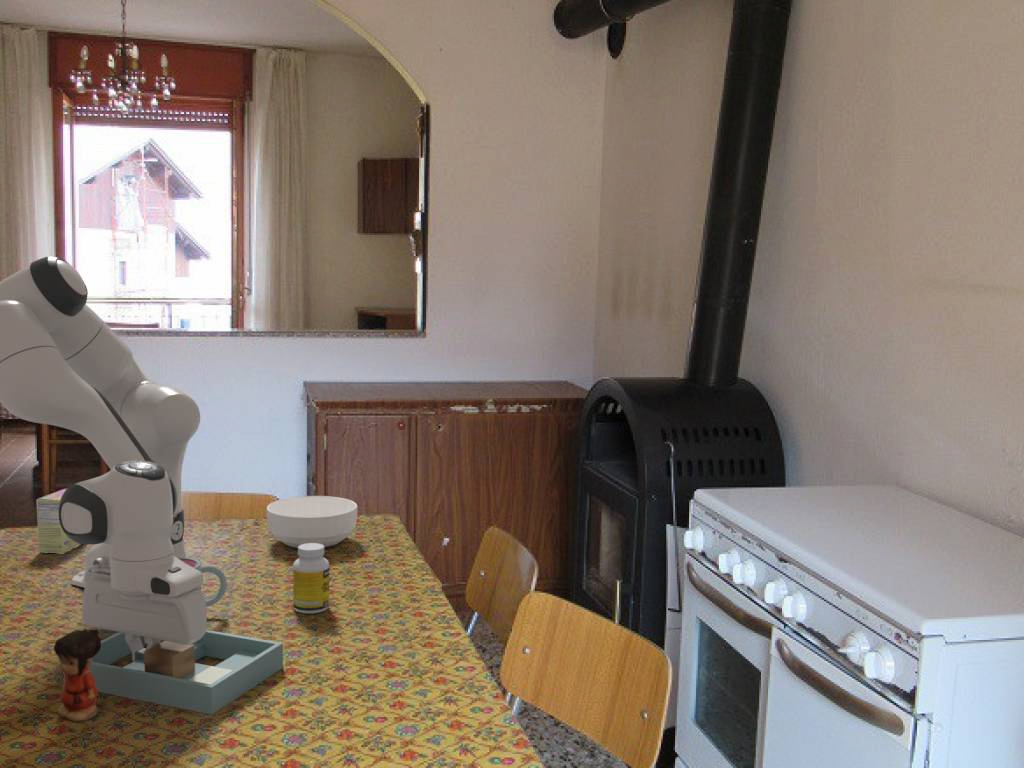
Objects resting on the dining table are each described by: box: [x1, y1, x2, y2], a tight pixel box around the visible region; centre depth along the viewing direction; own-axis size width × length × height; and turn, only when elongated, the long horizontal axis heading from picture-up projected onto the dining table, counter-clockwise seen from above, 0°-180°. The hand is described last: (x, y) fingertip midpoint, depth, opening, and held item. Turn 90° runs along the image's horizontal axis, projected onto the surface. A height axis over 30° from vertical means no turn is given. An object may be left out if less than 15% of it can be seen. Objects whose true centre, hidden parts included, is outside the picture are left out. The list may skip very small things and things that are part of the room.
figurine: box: [53, 628, 101, 723], centre depth 143 cm, size 6×6×12 cm
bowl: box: [266, 495, 358, 549], centre depth 229 cm, size 20×20×8 cm
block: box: [144, 641, 196, 679], centre depth 153 cm, size 5×5×4 cm
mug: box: [177, 556, 228, 608], centre depth 181 cm, size 14×9×10 cm
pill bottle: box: [292, 543, 330, 615], centre depth 187 cm, size 6×6×12 cm
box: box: [36, 488, 79, 554], centre depth 222 cm, size 10×6×12 cm, turn 172°
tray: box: [63, 629, 284, 716], centre depth 157 cm, size 26×18×4 cm
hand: (143, 662), depth 154 cm, fingers closed
